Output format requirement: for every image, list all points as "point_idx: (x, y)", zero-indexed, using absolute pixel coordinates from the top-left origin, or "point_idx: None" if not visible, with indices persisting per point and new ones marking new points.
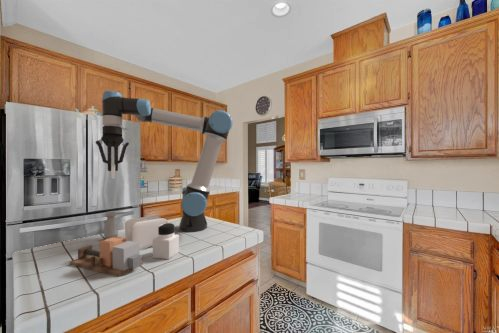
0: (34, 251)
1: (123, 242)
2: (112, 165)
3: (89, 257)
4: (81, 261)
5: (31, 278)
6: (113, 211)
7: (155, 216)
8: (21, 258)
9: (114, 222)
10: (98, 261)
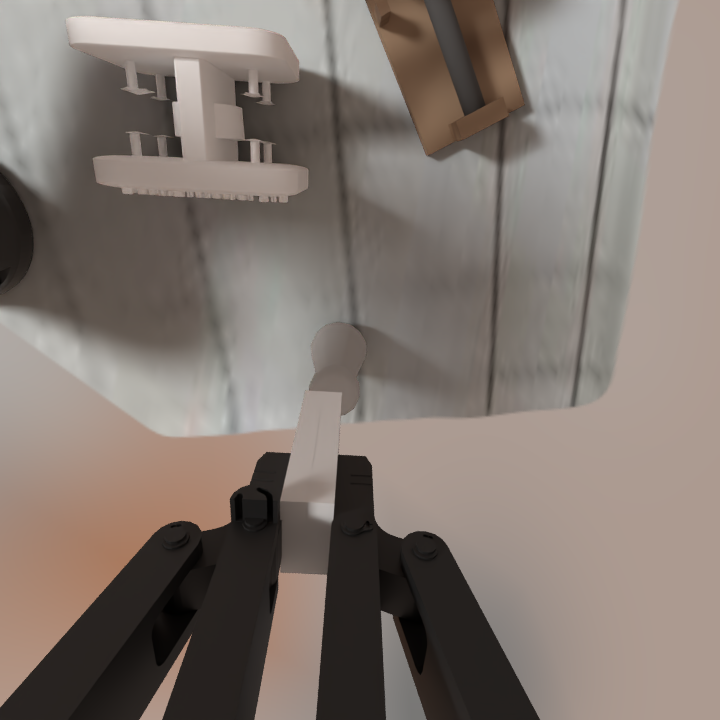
0: (572, 372)
1: None
2: (319, 489)
3: None
4: (495, 65)
5: (635, 61)
6: None
7: (119, 159)
8: (614, 321)
9: (322, 357)
10: None
